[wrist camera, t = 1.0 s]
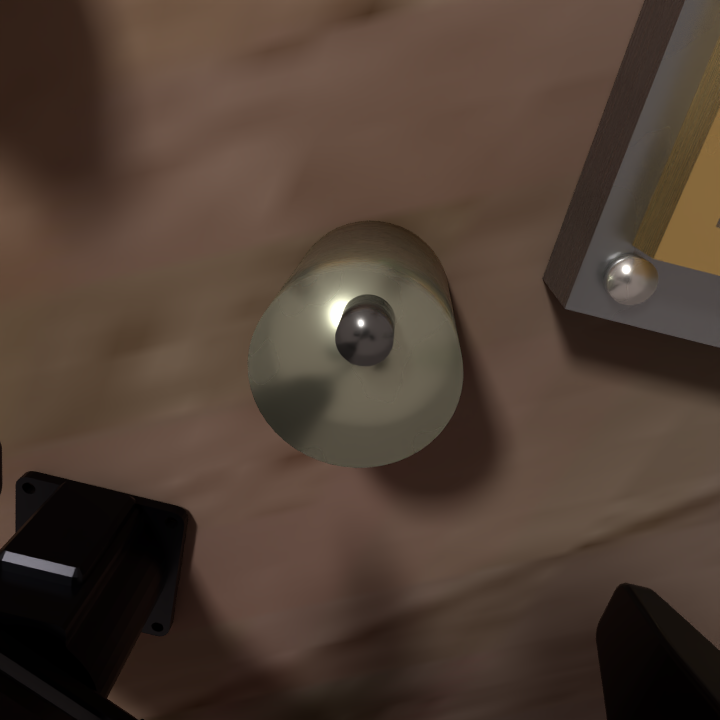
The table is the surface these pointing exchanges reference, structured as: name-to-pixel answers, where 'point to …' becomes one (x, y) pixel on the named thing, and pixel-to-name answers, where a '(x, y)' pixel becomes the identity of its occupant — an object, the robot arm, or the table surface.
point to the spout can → (359, 349)
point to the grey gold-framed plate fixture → (652, 185)
